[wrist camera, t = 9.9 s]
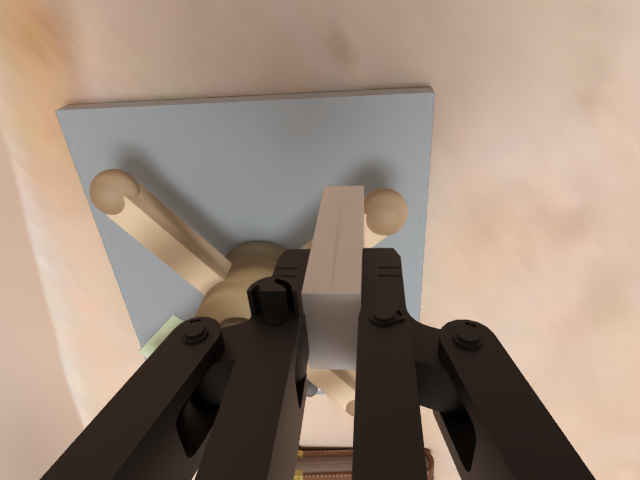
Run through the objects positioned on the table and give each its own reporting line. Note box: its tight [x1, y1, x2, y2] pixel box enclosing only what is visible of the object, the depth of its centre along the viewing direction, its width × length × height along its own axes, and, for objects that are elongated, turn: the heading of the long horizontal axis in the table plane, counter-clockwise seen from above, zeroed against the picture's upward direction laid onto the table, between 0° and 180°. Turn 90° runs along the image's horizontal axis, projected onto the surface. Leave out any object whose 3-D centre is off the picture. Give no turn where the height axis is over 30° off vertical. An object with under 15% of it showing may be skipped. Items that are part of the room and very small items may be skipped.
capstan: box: [89, 169, 408, 416], centre depth 27 cm, size 24×24×7 cm
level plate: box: [55, 87, 435, 397], centre depth 31 cm, size 24×22×3 cm
